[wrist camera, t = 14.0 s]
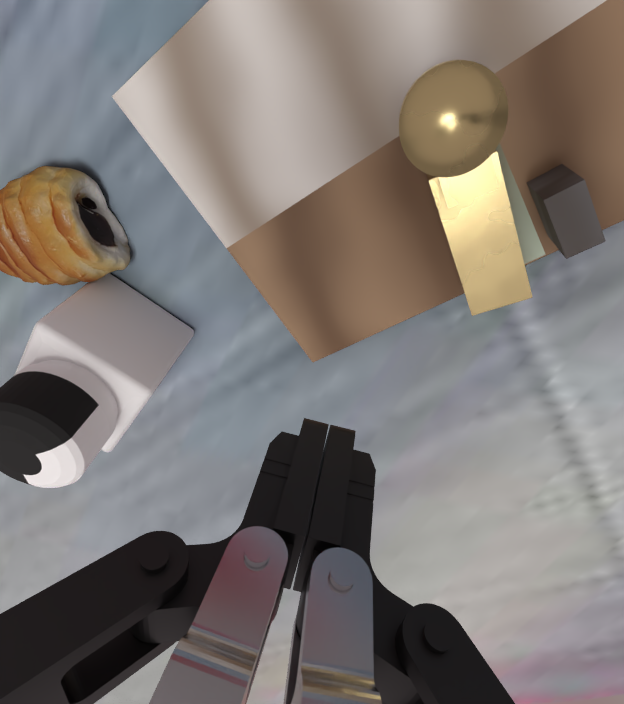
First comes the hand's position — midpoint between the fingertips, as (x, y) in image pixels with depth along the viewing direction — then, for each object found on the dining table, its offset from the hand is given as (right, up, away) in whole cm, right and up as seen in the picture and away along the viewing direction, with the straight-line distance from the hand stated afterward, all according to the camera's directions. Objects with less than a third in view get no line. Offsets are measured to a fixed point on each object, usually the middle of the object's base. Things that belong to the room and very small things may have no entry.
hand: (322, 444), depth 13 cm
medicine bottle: (-13, +4, +19) cm, 24 cm away
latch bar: (+7, +11, +9) cm, 15 cm away
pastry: (-16, +11, +16) cm, 25 cm away
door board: (+4, +14, +9) cm, 17 cm away
